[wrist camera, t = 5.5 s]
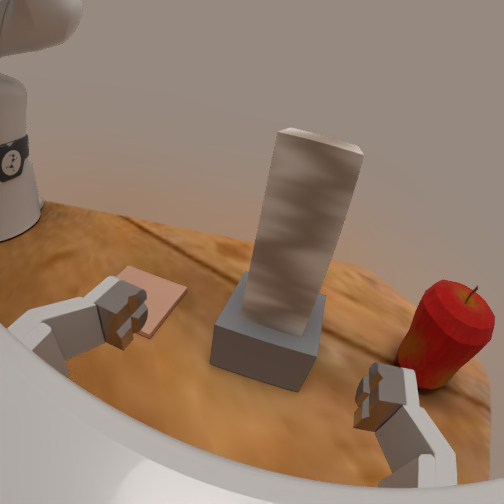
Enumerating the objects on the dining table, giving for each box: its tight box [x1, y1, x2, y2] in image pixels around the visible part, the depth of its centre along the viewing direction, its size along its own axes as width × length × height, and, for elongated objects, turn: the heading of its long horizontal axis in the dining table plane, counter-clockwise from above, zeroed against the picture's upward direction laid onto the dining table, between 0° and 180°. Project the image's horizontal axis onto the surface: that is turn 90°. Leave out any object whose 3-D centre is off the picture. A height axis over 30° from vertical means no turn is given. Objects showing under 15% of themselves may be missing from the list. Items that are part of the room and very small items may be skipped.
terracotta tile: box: [116, 266, 187, 339], centre depth 29 cm, size 8×8×1 cm
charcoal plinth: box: [210, 271, 326, 392], centre depth 25 cm, size 8×8×5 cm
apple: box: [398, 280, 495, 389], centre depth 23 cm, size 9×8×12 cm
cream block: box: [240, 128, 364, 338], centre depth 21 cm, size 5×5×14 cm
